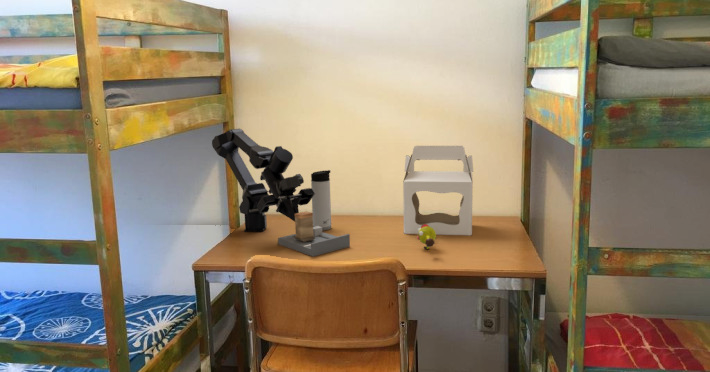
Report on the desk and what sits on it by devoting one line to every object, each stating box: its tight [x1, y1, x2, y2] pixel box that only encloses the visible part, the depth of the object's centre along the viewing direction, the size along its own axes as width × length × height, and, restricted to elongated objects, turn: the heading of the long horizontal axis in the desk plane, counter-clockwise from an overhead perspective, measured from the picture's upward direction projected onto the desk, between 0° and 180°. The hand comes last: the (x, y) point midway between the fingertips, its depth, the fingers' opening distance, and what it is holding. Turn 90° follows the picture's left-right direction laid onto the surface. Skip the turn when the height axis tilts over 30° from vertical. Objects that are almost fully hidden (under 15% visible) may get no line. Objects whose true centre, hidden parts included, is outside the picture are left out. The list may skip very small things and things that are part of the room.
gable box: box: [402, 145, 474, 236], centre depth 195 cm, size 22×13×28 cm, turn 79°
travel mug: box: [310, 169, 332, 232], centre depth 200 cm, size 6×7×20 cm
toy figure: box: [416, 224, 437, 251], centre depth 176 cm, size 18×6×7 cm, turn 178°
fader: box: [294, 210, 315, 242], centre depth 181 cm, size 5×4×8 cm
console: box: [277, 226, 351, 257], centre depth 182 cm, size 18×14×4 cm
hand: (298, 221), depth 183 cm, fingers closed
